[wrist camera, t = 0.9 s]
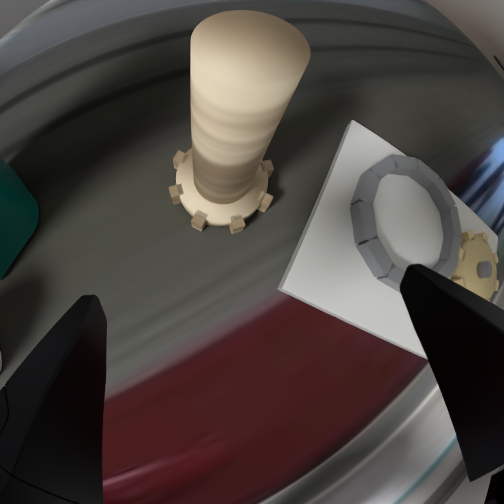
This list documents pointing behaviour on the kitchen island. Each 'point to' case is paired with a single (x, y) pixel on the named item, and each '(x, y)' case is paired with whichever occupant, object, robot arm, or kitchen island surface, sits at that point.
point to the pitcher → (14, 216)
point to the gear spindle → (236, 114)
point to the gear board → (385, 239)
